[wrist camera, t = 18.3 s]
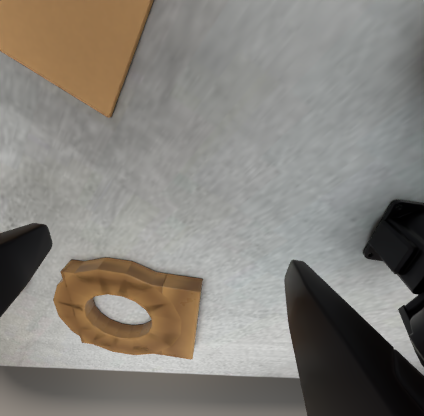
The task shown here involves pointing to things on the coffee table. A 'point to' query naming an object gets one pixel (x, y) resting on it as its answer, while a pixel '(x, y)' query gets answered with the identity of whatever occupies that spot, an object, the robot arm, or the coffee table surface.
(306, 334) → the robot arm
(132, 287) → the cup stand
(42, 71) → the coaster
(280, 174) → the coffee table surface
